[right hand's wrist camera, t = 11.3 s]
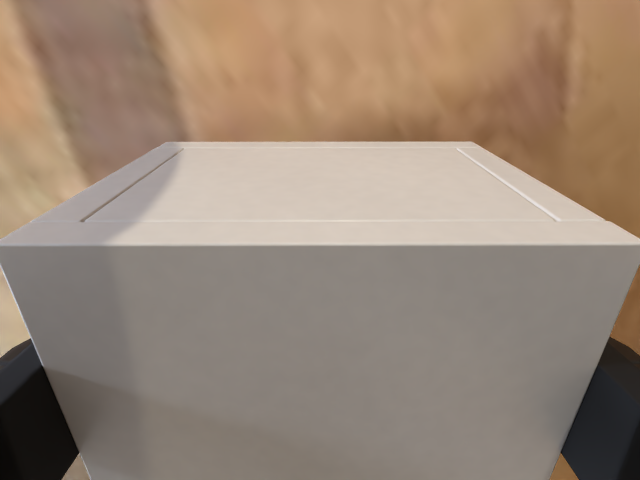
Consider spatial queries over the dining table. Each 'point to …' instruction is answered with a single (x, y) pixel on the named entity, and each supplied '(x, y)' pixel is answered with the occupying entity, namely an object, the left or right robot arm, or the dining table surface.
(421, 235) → the cabinet
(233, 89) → the dining table surface
